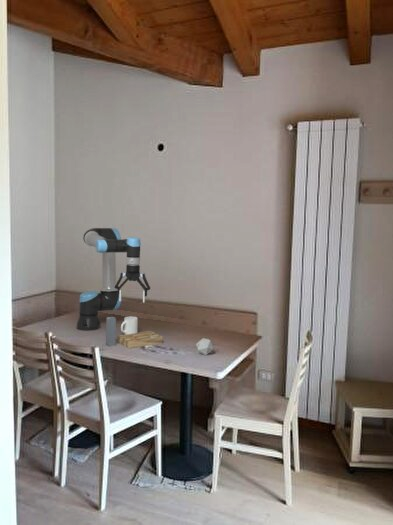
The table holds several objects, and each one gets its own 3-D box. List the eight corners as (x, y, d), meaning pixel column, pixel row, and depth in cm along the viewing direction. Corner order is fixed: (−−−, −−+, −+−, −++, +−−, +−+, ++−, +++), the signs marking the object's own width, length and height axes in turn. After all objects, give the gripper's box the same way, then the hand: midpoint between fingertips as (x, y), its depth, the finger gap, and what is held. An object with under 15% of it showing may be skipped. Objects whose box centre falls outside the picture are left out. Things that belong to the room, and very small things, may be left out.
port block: (117, 342, 274) (118, 335, 273) (150, 337, 286) (150, 330, 286) (129, 348, 262) (129, 341, 262) (162, 343, 275) (162, 336, 275)
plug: (106, 344, 268) (106, 317, 266) (112, 343, 271) (112, 316, 269) (109, 346, 265) (109, 318, 263) (115, 345, 267) (115, 318, 265)
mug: (124, 337, 284) (125, 321, 282) (116, 334, 289) (116, 318, 288) (140, 334, 292) (140, 318, 291) (131, 331, 298) (131, 315, 297)
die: (198, 351, 264) (191, 339, 259) (212, 344, 264) (206, 332, 259) (202, 361, 257) (195, 349, 252) (217, 353, 257) (210, 341, 252)
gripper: (109, 264, 262) (109, 301, 265) (154, 266, 261) (152, 303, 263) (112, 262, 269) (112, 298, 272) (155, 264, 268) (154, 301, 271)
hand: (132, 301), depth 268 cm, fingers open, 13 cm apart
